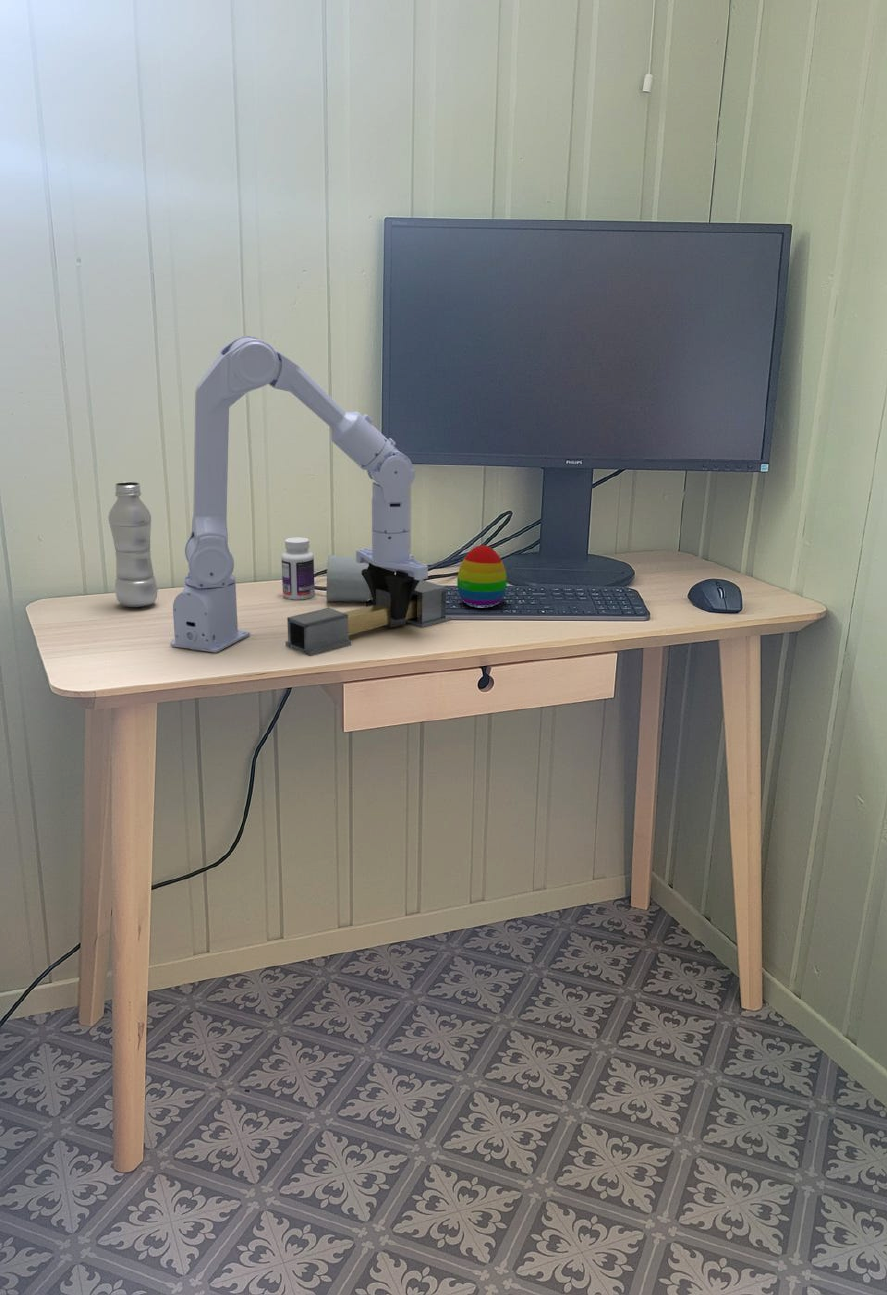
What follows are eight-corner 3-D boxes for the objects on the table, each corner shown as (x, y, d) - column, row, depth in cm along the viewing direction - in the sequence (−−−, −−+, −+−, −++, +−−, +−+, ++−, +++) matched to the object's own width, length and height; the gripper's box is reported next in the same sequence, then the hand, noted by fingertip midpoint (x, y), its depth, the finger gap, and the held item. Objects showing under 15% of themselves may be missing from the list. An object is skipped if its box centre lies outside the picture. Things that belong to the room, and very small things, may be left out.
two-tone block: (344, 639, 161) (343, 604, 159) (330, 634, 163) (329, 599, 161) (429, 617, 172) (429, 584, 170) (414, 612, 174) (414, 579, 172)
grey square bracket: (422, 627, 168) (422, 593, 167) (391, 617, 173) (391, 584, 172) (450, 620, 172) (450, 587, 171) (419, 610, 177) (419, 578, 176)
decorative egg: (466, 612, 176) (467, 552, 173) (450, 599, 184) (451, 541, 180) (513, 609, 179) (515, 549, 176) (495, 596, 186) (497, 538, 183)
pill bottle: (317, 592, 187) (316, 536, 184) (311, 600, 182) (309, 543, 179) (286, 591, 187) (285, 535, 184) (279, 599, 182) (277, 542, 179)
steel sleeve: (310, 655, 155) (309, 625, 154) (285, 645, 159) (284, 616, 158) (351, 644, 160) (350, 615, 159) (326, 635, 164) (325, 606, 163)
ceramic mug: (376, 606, 179) (376, 561, 177) (326, 606, 179) (325, 561, 176) (376, 590, 189) (375, 547, 187) (328, 590, 189) (328, 547, 186)
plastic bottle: (153, 611, 175) (144, 487, 168) (111, 611, 175) (100, 487, 168) (163, 600, 181) (154, 480, 174) (122, 600, 181) (111, 480, 174)
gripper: (443, 533, 162) (442, 621, 166) (380, 518, 172) (380, 601, 176) (407, 540, 157) (407, 630, 161) (344, 524, 167) (346, 609, 171)
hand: (391, 615), depth 168 cm, fingers closed on two-tone block, 3 cm apart
